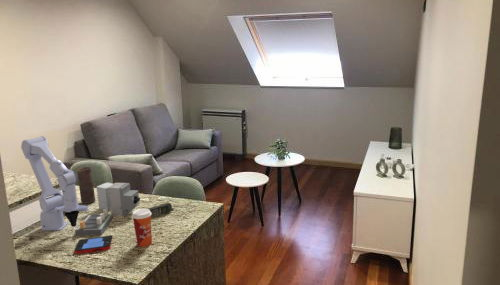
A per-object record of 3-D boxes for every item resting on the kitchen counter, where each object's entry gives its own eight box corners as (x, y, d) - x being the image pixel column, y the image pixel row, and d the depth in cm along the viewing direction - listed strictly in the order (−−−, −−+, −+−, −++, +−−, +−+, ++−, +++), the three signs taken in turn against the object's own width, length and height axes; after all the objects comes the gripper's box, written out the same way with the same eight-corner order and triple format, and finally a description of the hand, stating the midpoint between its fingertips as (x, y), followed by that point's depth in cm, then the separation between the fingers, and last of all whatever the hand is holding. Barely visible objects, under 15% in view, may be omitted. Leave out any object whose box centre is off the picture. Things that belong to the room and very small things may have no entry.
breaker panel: (75, 235, 186) (73, 224, 184) (89, 219, 202) (88, 209, 201) (101, 234, 186) (100, 223, 184) (113, 218, 202) (112, 208, 201)
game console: (113, 237, 184) (112, 232, 183) (110, 251, 172) (109, 246, 171) (79, 241, 181) (78, 236, 180) (74, 255, 169) (73, 250, 168)
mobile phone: (147, 210, 199) (174, 201, 208) (144, 209, 201) (171, 200, 211) (148, 220, 201) (175, 210, 210) (146, 218, 203) (172, 209, 212)
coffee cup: (144, 250, 171) (141, 217, 167) (130, 245, 175) (127, 213, 171) (158, 241, 178) (155, 210, 174) (145, 237, 182) (142, 206, 178)
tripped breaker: (80, 228, 186) (79, 222, 185) (81, 226, 188) (81, 220, 187) (83, 228, 186) (82, 222, 185) (85, 226, 188) (84, 220, 187)
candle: (92, 204, 220) (87, 169, 215) (78, 205, 220) (74, 170, 215) (97, 199, 227) (93, 165, 222) (84, 199, 228) (80, 165, 223)
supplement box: (119, 206, 217) (116, 184, 214) (107, 211, 211) (105, 188, 208) (110, 203, 221) (107, 181, 218) (98, 208, 215) (95, 186, 212)
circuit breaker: (136, 217, 203) (133, 189, 200) (110, 215, 206) (107, 187, 203) (143, 210, 211) (140, 183, 207) (118, 209, 213) (115, 182, 210)
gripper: (49, 202, 179) (54, 230, 183) (82, 201, 179) (86, 229, 183) (57, 196, 186) (61, 223, 189) (88, 195, 186) (92, 222, 189)
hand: (74, 225), depth 186 cm, fingers closed
